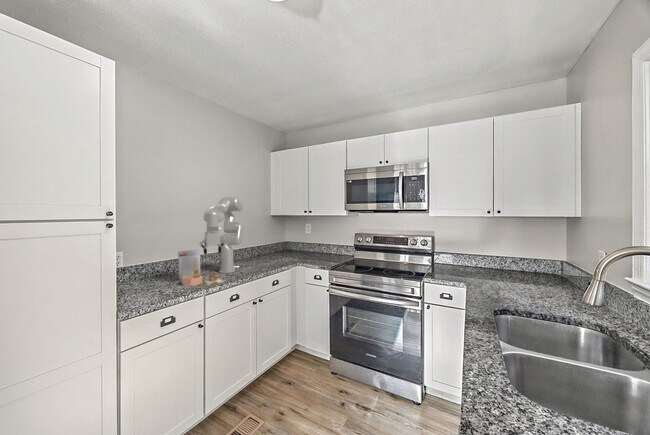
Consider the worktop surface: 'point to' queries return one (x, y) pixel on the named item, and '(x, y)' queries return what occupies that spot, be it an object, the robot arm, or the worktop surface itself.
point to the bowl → (191, 280)
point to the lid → (212, 278)
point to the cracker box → (189, 263)
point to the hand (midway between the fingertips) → (212, 253)
